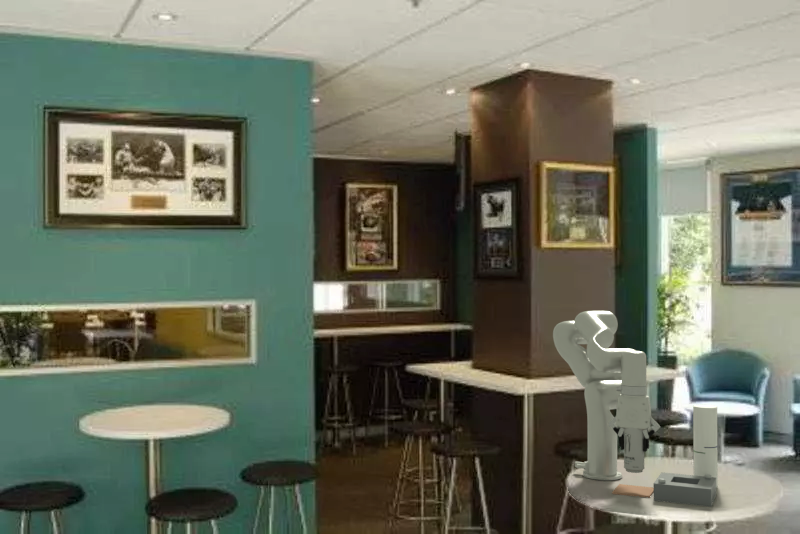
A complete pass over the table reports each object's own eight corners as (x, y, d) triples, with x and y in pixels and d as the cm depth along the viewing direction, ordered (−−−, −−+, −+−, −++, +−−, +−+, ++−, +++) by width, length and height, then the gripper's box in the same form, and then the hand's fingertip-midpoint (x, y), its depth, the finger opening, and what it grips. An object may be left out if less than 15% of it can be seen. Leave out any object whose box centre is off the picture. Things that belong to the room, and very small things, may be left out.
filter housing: (653, 500, 247) (653, 480, 247) (661, 488, 261) (661, 469, 261) (711, 506, 240) (711, 485, 240) (716, 494, 254) (716, 474, 255)
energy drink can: (620, 469, 259) (619, 421, 259) (636, 468, 261) (635, 419, 261) (632, 473, 253) (632, 424, 253) (648, 472, 255) (648, 422, 256)
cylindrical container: (719, 488, 261) (719, 408, 261) (695, 487, 262) (695, 407, 263) (715, 483, 268) (715, 405, 268) (692, 482, 269) (691, 404, 270)
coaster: (612, 493, 254) (612, 491, 254) (619, 485, 264) (619, 483, 264) (649, 497, 250) (649, 495, 250) (655, 489, 260) (655, 487, 260)
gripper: (602, 391, 258) (603, 449, 257) (661, 394, 250) (661, 454, 250) (607, 388, 265) (608, 445, 264) (664, 391, 257) (665, 450, 257)
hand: (634, 449), depth 257 cm, fingers closed on energy drink can, 6 cm apart
